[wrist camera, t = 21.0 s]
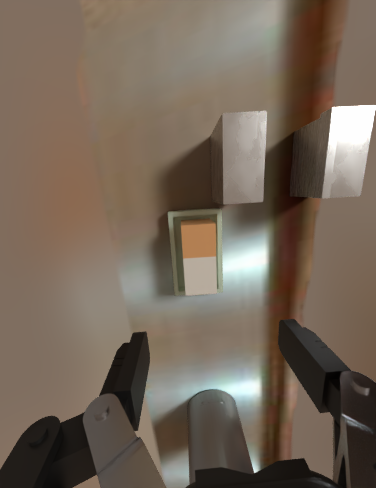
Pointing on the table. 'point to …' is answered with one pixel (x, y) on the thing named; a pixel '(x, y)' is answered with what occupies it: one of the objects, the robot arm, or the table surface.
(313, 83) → the table surface
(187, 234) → the two-tone eraser block
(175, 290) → the tray
